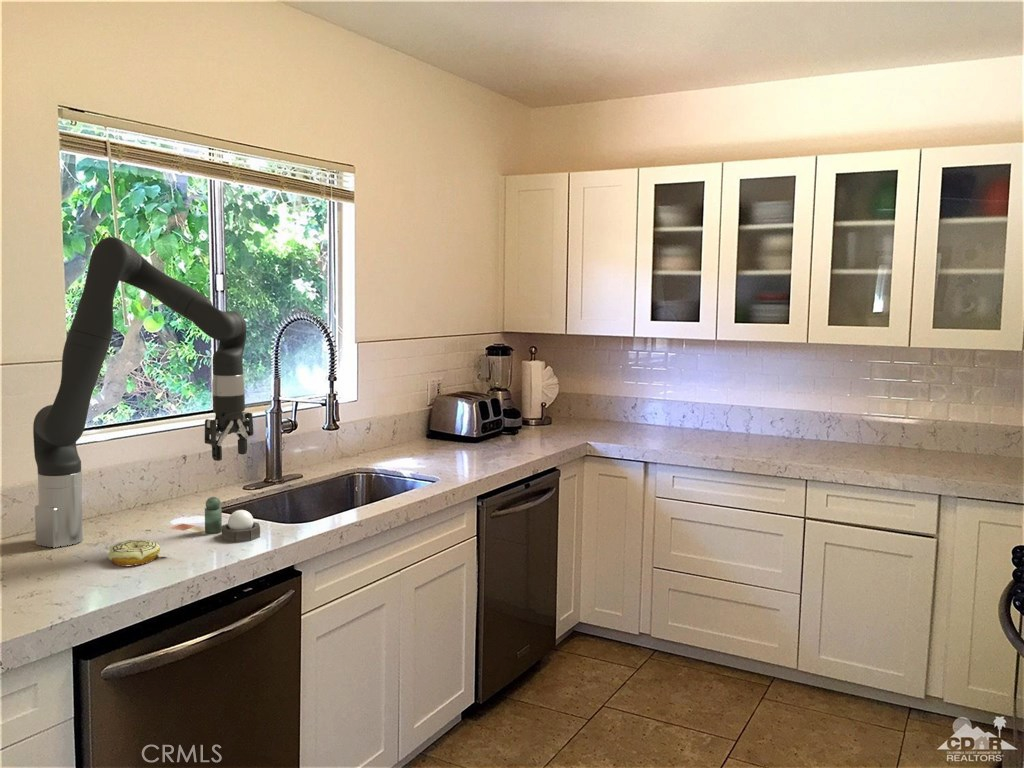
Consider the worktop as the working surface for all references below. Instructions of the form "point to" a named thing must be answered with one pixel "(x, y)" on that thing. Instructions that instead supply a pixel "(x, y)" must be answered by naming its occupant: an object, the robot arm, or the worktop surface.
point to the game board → (227, 532)
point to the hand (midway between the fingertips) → (230, 457)
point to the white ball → (240, 520)
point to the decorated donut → (134, 552)
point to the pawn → (213, 516)
